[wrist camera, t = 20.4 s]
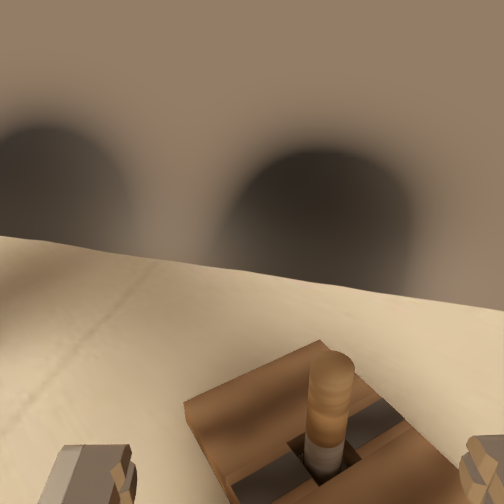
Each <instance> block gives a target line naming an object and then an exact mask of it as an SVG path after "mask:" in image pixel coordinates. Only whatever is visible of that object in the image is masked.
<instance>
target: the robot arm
mask: <svg viewBox="0 0 504 504" xmlns="http://www.w3.org/2000/svg"><path fill="white" fill-rule="evenodd" d="M466 446H467V448H468V450H469V452H468V453H466V454H465V455H463V456H462V457H461V460H460V464H459V475H460V480H461V484H462V487H463V490H464V492H465V495H466V497H467V499H468V500H470V501H471V502H472V503H473V504H504V435H482V436H472V437H470V438H469V439H468V441H467V444H466ZM131 455H132V451H131V448H130V445H129V444H114V445H64V446H63V448H62V449H61V450H60V452H59V453H58V456H57V458H56V461H55V463H54V465H53V468H52V470H51V473H50V475H49V477H48V480H47V482H46V485H45V487H44V489H43V492H42V494H41V497H40V499H39V502H38V504H134V500H135V495H136V487H137V470H136V466H135V464H134V463H133V462H131V461H130V459H131Z"/></svg>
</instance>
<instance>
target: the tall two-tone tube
mask: <svg viewBox="0 0 504 504" xmlns="http://www.w3.org/2000/svg"><path fill="white" fill-rule="evenodd" d="M354 371H355V367H354V364H353V362H352V360H351V359H350V358H349V357H348V356H346V355H345V354H343V353H340V352H337V351H322V352H319V353H317V354H316V355H314V356H313V358H312V359H311V362H310V374H309V389H308V404H307V418H306V433H305V448H304V463H303V465H304V467H305V468H306V469H307V471H308V472H309V473H310V475H311V476H312V478H313V480H314V481H315V482H316V484H317V485H318V486H319V487H320V486H321V485H323V484H324V483H326V482H327V481H329V480H331V479H332V478H334V477H335V476H337V475H338V474H340V469H341V462H342V455H343V448H344V441H345V434H346V427H347V420H348V413H349V406H350V399H351V392H352V385H353V378H354Z"/></svg>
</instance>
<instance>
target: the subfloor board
mask: <svg viewBox="0 0 504 504" xmlns="http://www.w3.org/2000/svg"><path fill="white" fill-rule="evenodd" d="M322 351H331V350H330V349H329V348H328V347H327V346H326V345H325V344H324V343H323V342H322V341H321V340H318V341H316V342H313V343H311V344H309V345H307V346H305V347H303V348H300V349H298V350H296V351H294V352H292V353H290V354H287V355H285V356H283V357H281V358H279V359H277V360H274V361H272V362H270V363H268V364H266V365H263V366H261V367H259V368H257V369H255V370H253V371H250V372H248V373H246V374H244V375H242V376H240V377H237V378H235V379H233V380H231V381H229V382H227V383H224V384H222V385H220V386H218V387H216V388H213V389H211V390H209V391H207V392H205V393H203V394H200V395H198V396H196V397H194V398H192V399H190V400H187V401H185V402H183V403H184V409H185V416H186V421H187V423H188V425H189V427H190V429H191V431H192V432H193V434H194V436H195V438H196V440H197V442H198V444H199V445H200V447H201V449H202V451H203V453H204V455H205V456H206V458H207V460H208V462H209V464H210V466H211V468H212V469H213V471H214V473H215V475H216V477H217V479H218V480H219V482H220V484H221V486H222V488H223V490H224V491H225V493H226V495H227V497H228V499H229V501H230V503H231V504H473V503H472V502H471V501H470V500H468V499H467V497H466V495H465V492H464V490H463V487H462V484H461V480H460V475H459V470H458V469H457V468H456V467H455V466H454V465H453V464H452V463H451V462H450V461H449V460H447V459H446V458H445V457H444V456H443V455H442V454H441V453H440V452H439V451H438V450H437V449H436V448H435V447H434V446H433V445H431V444H430V443H429V442H428V441H427V440H426V439H425V438H424V437H423V436H422V435H421V434H420V433H419V432H418V431H417V430H415V429H414V428H413V427H412V426H411V425H410V424H409V423H408V422H407V421H406V420H405V418H404V417H402V416H401V415H400V414H399V413H398V412H397V411H396V410H395V409H394V408H393V407H392V406H391V405H390V404H389V403H388V402H386V401H385V400H384V399H383V398H381V397H380V396H379V395H378V394H377V393H376V392H375V391H374V390H373V389H372V388H371V387H370V386H369V385H367V384H366V383H365V382H364V381H363V380H362V379H361V378H360V377H359V376H358V375H357V374H356V373H355V372H354V378H353V385H352V392H351V399H350V406H349V413H348V420H347V427H346V434H345V441H344V448H343V455H342V459H343V460H344V461H345V462H346V463H347V464H348V466H349V468H348V469H346V470H345V471H343V472H341V473H340V474H338V475H337V476H335V477H334V478H332V479H331V480H329V481H327V482H326V483H324V484H323V485H321V486H320V487H319V486H318V485H317V484H316V482H315V481H314V480H313V478H312V476H311V475H310V473H309V472H308V471H307V469H306V468H305V467H304V465H303V464H302V463H301V461H300V460H299V459H298V457H297V456H296V455H298V454H300V453H301V452H303V451H304V448H305V433H306V418H307V404H308V389H309V374H310V362H311V359H312V358H313V356H314V355H316V354H317V353H319V352H322Z"/></svg>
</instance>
